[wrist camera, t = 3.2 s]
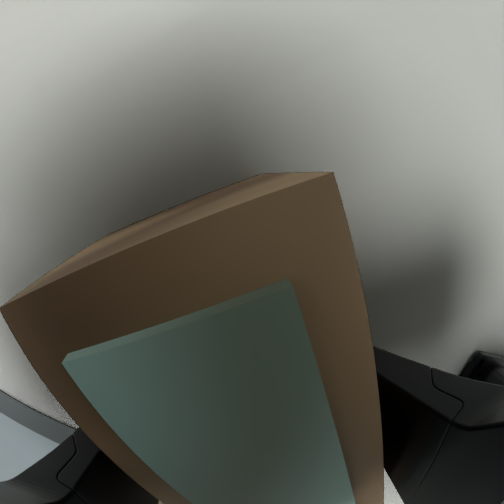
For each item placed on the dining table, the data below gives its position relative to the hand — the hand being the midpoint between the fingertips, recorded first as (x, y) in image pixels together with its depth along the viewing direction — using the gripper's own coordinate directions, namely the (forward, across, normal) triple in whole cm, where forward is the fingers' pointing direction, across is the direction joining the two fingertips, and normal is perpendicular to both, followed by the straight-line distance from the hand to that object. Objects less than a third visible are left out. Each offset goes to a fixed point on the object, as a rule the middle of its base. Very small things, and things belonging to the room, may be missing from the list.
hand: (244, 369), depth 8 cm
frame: (+1, 0, 0) cm, 1 cm away
